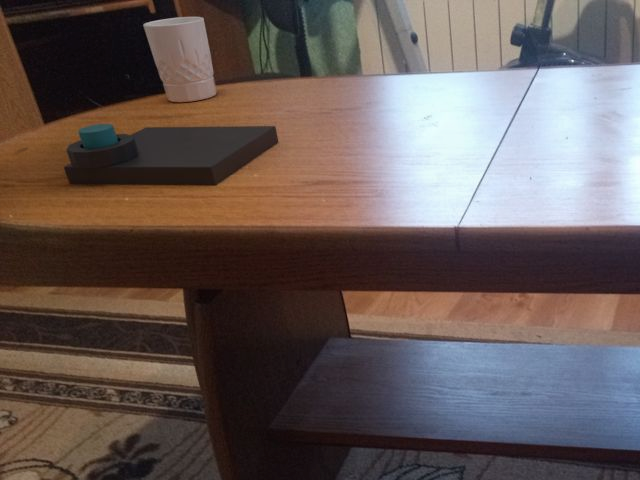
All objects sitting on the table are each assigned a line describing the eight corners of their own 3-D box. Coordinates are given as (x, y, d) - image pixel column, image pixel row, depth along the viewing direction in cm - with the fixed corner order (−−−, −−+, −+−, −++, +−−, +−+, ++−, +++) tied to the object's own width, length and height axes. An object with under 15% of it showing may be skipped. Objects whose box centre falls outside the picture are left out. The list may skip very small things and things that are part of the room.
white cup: (169, 94, 107) (149, 20, 102) (223, 88, 108) (206, 14, 103) (159, 106, 101) (137, 27, 95) (218, 100, 102) (199, 22, 96)
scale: (65, 187, 72) (52, 152, 70) (150, 144, 84) (141, 112, 82) (213, 188, 68) (203, 151, 67) (279, 143, 80) (272, 110, 79)
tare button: (76, 150, 71) (70, 132, 70) (97, 141, 74) (91, 123, 73) (105, 150, 70) (99, 132, 69) (125, 141, 73) (119, 123, 72)
